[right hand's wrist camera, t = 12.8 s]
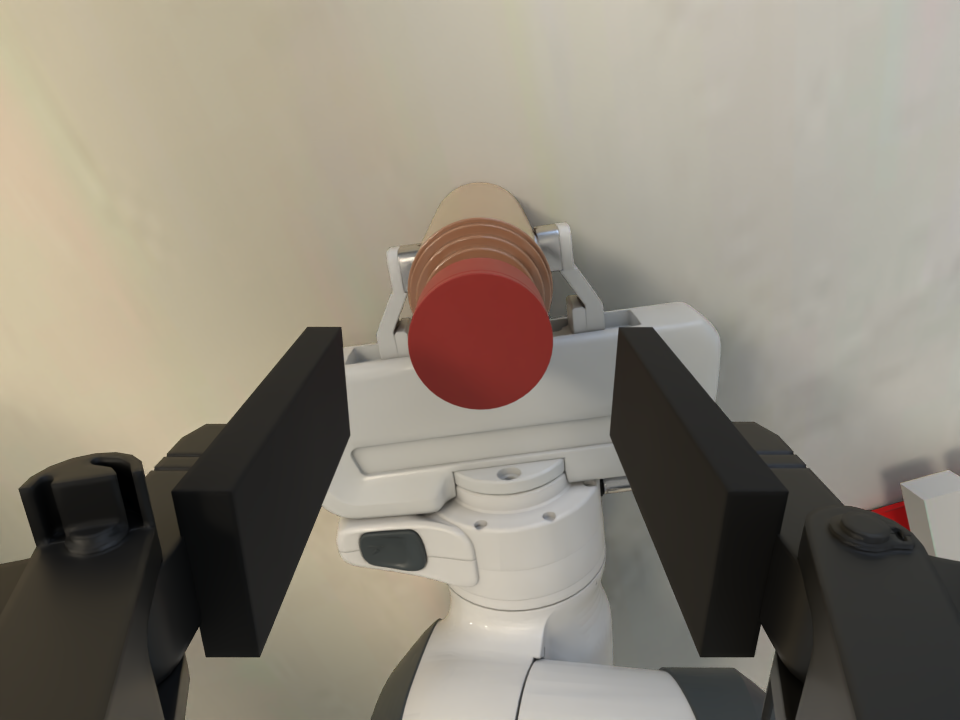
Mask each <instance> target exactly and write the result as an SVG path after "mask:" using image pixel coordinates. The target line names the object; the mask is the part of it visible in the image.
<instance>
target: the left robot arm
mask: <svg viewBox="0 0 960 720" xmlns="http://www.w3.org/2000/svg"><path fill="white" fill-rule="evenodd" d="M534 234H535V236H536V238H537V240H538V242H539V244H540V246H541V248H542V250H543V252H544V255H545V257H546V259H547V261H548V263H549V266H550V270H551V271H560V273H561V274H562V275H563V277H564V278H565V279H566V281H567V282H568V283H569V285H570V286H571V287H572V289H573V290H574V291H575V293H576V294H577V295H568V296H567V297H566V305H567V316H568V317H561V318H554V319H549V320H550V323H551V326H552V332H553V350H552V356H551V359H550V363H549V365H548V368H547V370H546V372H545V374H544V375H543V377H542V379H541V380H540V381H539V382H538V384H537V385H536V386H535V387H534V388H533V389H532V390H531V391H530V392H529V393H527V394H526V395H525V396H523V397H522V398H520V399H518V400H517V401H515V402H513V403H510V404H508V405H506V406H502V407H499V408H494V409H485V410H476V409H467V408H462V407H459V406H456V405H453V404H450V403H448V402H446V401H444V400H443V399H441V398H439V397H438V396H436V395H435V394H434V393H432V392H431V391H430V390H429V389H428V388H427V387H426V386H425V385H424V384H423V382H422V381H421V380H420V378H419V377H418V375H417V373H416V372H415V370H414V368H413V365H412V363H411V360H410V355H409V350H408V332H409V327H410V323H411V320H412V319H410V318H402V319H401V320H400V321H399V317H400V314H401V311H402V309H403V306H404V303H405V300H406V298H407V295H408V277H409V272H410V268H411V265H412V262H413V260H414V258H415V256H416V254H417V252H418V250H419V247H420V245H421V243H419V244H411V245H403V246H396V247H390V248H389V249H388V251H387V252H386V254H387V266H388V271H389V276H390V281H391V286H392V292H391V294H390V297H389V300H388V303H387V306H386V308H385V311H384V314H383V317H382V320H381V322H380V325H379V328H378V331H377V334H376V337H377V342H378V343H371V344H364V345H356V346H349V347H343V353H344V364H345V376H346V388H347V400H348V411H349V423H350V438H349V440H348V443H347V445H346V448H345V450H344V453H343V455H342V457H341V460H340V462H339V465H338V467H337V470H336V472H335V475H334V477H333V479H332V482H331V484H330V487H329V489H328V492H327V494H326V497H325V499H324V501H323V504H322V507H324V508H325V509H326V510H327V511H329V512H331V513H333V514H335V515H337V516H340V518H339V523H338V530H337V537H336V541H337V547H338V551H339V554H340V556H341V558H342V559H343V560H344V561H345V562H347V563H348V564H351V565H354V566H358V567H364V568H371V569H378V570H385V571H392V572H398V573H404V574H410V575H415V576H420V577H424V578H428V579H433V580H436V581H440V582H443V583H446V584H447V586H448V588H449V591H450V596H451V604H450V609H449V613H448V615H447V617H446V618H445V619H443V620H442V619H438V620H437V621H435V622H434V623H433V624H432V625H431V626H430V627H429V628H428V629H427V630H426V631H425V632H424V633H423V634H422V636H421V637H420V638H419V639H418V640H417V642H416V643H415V644H414V645H413V646H412V648H411V649H410V650H409V652H408V653H407V654H406V655H405V657H404V658H403V659H402V660H401V661H400V663H399V664H398V665H397V667H396V668H395V669H394V671H393V672H392V674H391V675H390V677H389V679H388V680H387V682H386V684H385V686H384V688H383V690H382V692H381V694H380V696H379V699H378V701H377V704H376V706H375V709H374V712H373V715H372V717H371V720H761V715H762V709H763V704H764V699H765V695H766V693H765V692H764V691H763V690H761V689H760V688H759V687H758V686H757V685H756V684H754V683H753V682H752V681H751V680H749V679H748V678H747V677H745V676H744V675H743V674H741V673H740V672H739V671H738V670H736V669H735V668H665V667H662V668H660V669H659V670H652V669H641V668H631V667H621V666H613V631H612V617H611V609H610V604H609V601H608V598H607V595H606V592H605V590H604V588H603V586H602V584H601V578H602V575H603V571H604V567H605V560H606V546H605V534H604V523H603V511H602V501H601V496H603V494H610V493H618V492H626V491H632V489H631V487H630V484H629V482H628V479H627V477H626V475H625V472H624V470H623V467H622V465H621V462H620V460H619V457H618V455H617V453H616V450H615V448H614V445H613V443H612V440H611V438H610V423H611V411H612V400H613V388H614V376H615V364H616V353H617V341H618V329H619V327H653V328H654V329H655V331H656V332H657V333H658V334H659V335H660V337H661V338H662V339H663V340H664V341H665V343H666V344H667V345H668V346H669V347H670V349H671V350H672V351H673V352H674V353H675V355H676V356H677V357H678V358H679V359H680V361H681V362H682V363H683V364H684V366H685V367H686V368H687V369H688V370H689V372H690V373H691V374H692V375H693V376H694V378H695V379H696V380H697V381H698V382H699V384H700V385H701V386H702V387H703V388H704V390H705V391H706V392H707V393H708V394H709V396H710V397H711V398H712V399H713V400H714V402H715V403H716V396H717V389H718V381H719V370H720V356H721V341H720V336H719V334H718V332H717V330H716V329H715V327H714V326H713V325H712V324H711V323H710V322H709V321H708V320H707V318H706V317H704V316H703V315H702V314H701V313H700V312H698V311H697V310H696V309H694V308H693V307H691V306H690V305H689V304H687V303H685V302H671V303H664V304H656V305H649V306H642V307H634V308H627V309H620V310H612V311H605V312H604V308H603V303H602V301H601V300H600V298H599V297H598V295H597V294H596V292H595V291H594V289H593V288H592V287H591V285H590V284H589V283H588V281H587V280H586V278H585V277H584V276H583V274H582V273H581V272H580V270H579V269H578V268H577V266H576V265H575V264H574V259H573V248H572V237H571V231H570V226H569V225H568V224H567V222H562V223H556V224H549V225H542V226H536V227H534ZM770 720H776V719H775V711H774V708H773V710H772V714H771V718H770Z"/></svg>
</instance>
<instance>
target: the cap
mask: <svg viewBox="0 0 960 720" xmlns="http://www.w3.org/2000/svg"><path fill="white" fill-rule="evenodd" d="M408 350H409V355H410V360H411V363H412V365H413V368H414V370H415V372H416V373H417V375H418V377H419V378H420V380H421V381H422V382H423V384H424V385H425V386H426V387H427V388H428V389H429V390H430V391H431V392H432V393H434V394H435V395H436V396H438V397H439V398H441V399H443V400H444V401H446V402H448V403H450V404H453V405H456V406H459V407H462V408H467V409H476V410H485V409H494V408H499V407H502V406H506V405H508V404H510V403H513V402H515V401H517V400H518V399H520V398H522V397H523V396H525V395H526V394H527V393H529V392H530V391H531V390H532V389H533V388H534V387H535V386H536V385H537V384H538V382H539V381H540V380H541V379H542V377H543V375H544V374H545V372H546V370H547V368H548V365H549V363H550V359H551V356H552V350H553V332H552V326H551V323H550V320H549V316H548V314H547V311H546V308H545V305H544V302H543V299H542V297H541V295H540V293H539V291H538V289H537V288H536V286H535V284H534V283H533V282H532V281H531V280H530V279H529V277H527V276H526V275H525V274H524V273H523V272H522V271H520V270H519V269H517V268H516V267H514V266H512V265H510V264H508V263H506V262H503V261H500V260H496V259H491V258H470V259H464V260H461V261H458V262H455V263H453V264H451V265H449V266H447V267H445V268H444V269H442V270H441V271H439V272H438V273H437V274H436V275H435V276H433V277H432V279H431V280H430V281H429V282H428V283H427V285H426V286H425V287H424V289H423V291H422V293H421V295H420V297H419V299H418V302H417V305H416V308H415V311H414V314H413V317H412V320H411V323H410V327H409V332H408Z"/></svg>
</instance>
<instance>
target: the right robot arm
mask: <svg viewBox="0 0 960 720" xmlns="http://www.w3.org/2000/svg"><path fill="white" fill-rule="evenodd" d="M349 438H350V423H349V411H348V400H347V388H346V376H345V364H344V353H343V341H342V329H341V327H307V328H306V329H305V331H304V332H303V333H302V334H301V335H300V337H299V338H298V339H297V340H296V341H295V343H294V344H293V345H292V346H291V347H290V349H289V350H288V351H287V352H286V353H285V355H284V356H283V357H282V358H281V359H280V361H279V362H278V363H277V364H276V366H275V367H274V368H273V369H272V370H271V372H270V373H269V374H268V375H267V376H266V378H265V379H264V380H263V381H262V382H261V384H260V385H259V386H258V387H257V388H256V390H255V391H254V392H253V393H252V394H251V396H250V397H249V398H248V399H247V400H246V402H245V403H244V404H243V405H242V406H241V408H240V409H239V410H238V411H237V413H236V414H235V415H234V416H233V417H232V419H231V420H230V421H229V422H228V423H227V424H205V425H204V426H202V427H200V428H198V429H197V430H195V431H193V432H191V433H190V434H188V435H186V436H184V437H182V438H181V439H180V440H179V441H178V443H177V444H176V445H175V446H174V447H173V448H172V449H171V450H170V451H169V452H168V453H167V457H164V458H163V459H162V460H161V461H160V462H159V463H158V464H157V465H156V466H155V467H154V468H155V469H154V471H150V472H149V474H148V475H147V476H146V477H145V474H144V470H143V465H142V461H140V460H139V459H137V458H136V457H134V456H133V455H129V454H123V453H117V452H112V453H95V454H90V455H86V456H81V457H76V458H72V459H69V460H66V461H64V462H61V463H58V464H55V465H53V466H50V467H48V468H46V469H44V470H43V471H41V472H39V473H37V474H35V475H34V476H32V477H30V478H29V479H28V480H27V481H26V482H25V483H24V484H23V485H22V486H21V487H20V488H19V492H20V496H21V499H22V502H23V505H24V508H25V511H26V515H27V518H28V521H29V524H30V527H31V531H32V534H33V537H34V540H35V543H36V546H37V547H36V549H35V550H34V552H33V554H32V556H31V558H29V559H25V560H20V561H15V562H9V563H4V564H0V720H185V713H186V705H187V697H188V690H189V682H190V676H189V670H188V664H187V660H186V655H185V651H186V649H187V648H188V646H189V644H190V642H191V640H192V639H193V637H194V635H195V633H196V631H197V630H198V628H199V627H200V631H201V636H202V641H203V646H204V650H205V655H206V657H260V655H261V653H262V651H263V648H264V646H265V643H266V641H267V638H268V636H269V633H270V631H271V629H272V626H273V624H274V621H275V619H276V616H277V614H278V611H279V609H280V607H281V604H282V602H283V599H284V597H285V594H286V592H287V589H288V587H289V585H290V582H291V580H292V577H293V575H294V572H295V570H296V567H297V565H298V563H299V560H300V558H301V555H302V553H303V550H304V548H305V545H306V543H307V541H308V538H309V536H310V533H311V531H312V528H313V526H314V523H315V521H316V519H317V516H318V514H319V511H320V509H321V506H322V504H323V501H324V499H325V497H326V494H327V492H328V489H329V487H330V484H331V482H332V479H333V477H334V475H335V472H336V470H337V467H338V465H339V462H340V460H341V457H342V455H343V453H344V450H345V448H346V445H347V443H348V440H349ZM610 438H611V440H612V443H613V445H614V448H615V450H616V453H617V455H618V457H619V460H620V462H621V465H622V467H623V470H624V472H625V475H626V477H627V479H628V482H629V484H630V487H631V489H632V492H633V494H634V497H635V499H636V501H637V504H638V506H639V509H640V511H641V514H642V516H643V519H644V521H645V523H646V526H647V528H648V531H649V533H650V536H651V538H652V541H653V543H654V545H655V548H656V550H657V553H658V555H659V558H660V560H661V563H662V565H663V567H664V570H665V572H666V575H667V577H668V580H669V582H670V585H671V587H672V589H673V592H674V594H675V597H676V599H677V602H678V604H679V607H680V609H681V611H682V614H683V616H684V619H685V621H686V624H687V626H688V629H689V631H690V633H691V636H692V638H693V641H694V643H695V646H696V648H697V651H698V653H699V655H700V657H754V655H755V650H756V646H757V641H758V636H759V631H760V627H761V625H762V626H763V628H764V630H765V632H766V634H767V635H768V637H769V639H770V641H771V643H772V644H773V646H774V648H775V650H776V651H775V655H774V660H773V664H772V668H771V673H770V677H769V682H768V686H767V691H766V695H765V699H764V704H763V709H762V715H761V720H770V718H771V714H772V710H773V708H774V711H775V719H776V720H960V561H955V560H950V559H945V558H940V557H935V556H931V555H928V553H927V551H926V549H925V547H924V546H923V544H922V543H921V542H920V541H919V540H918V539H917V537H916V536H915V535H914V534H913V533H912V532H911V531H909V530H908V529H906V528H905V527H903V526H902V525H900V524H899V523H897V522H896V521H894V520H891V519H889V518H887V517H884V516H882V515H880V514H877V513H875V512H872V511H868V510H864V509H860V508H856V507H852V506H844V505H843V504H842V503H841V501H840V500H839V499H838V498H837V497H836V496H835V495H834V494H833V493H832V492H831V491H830V490H829V489H828V488H827V487H826V486H825V484H824V483H823V482H822V481H821V480H820V479H819V478H818V477H817V476H816V475H815V474H814V473H813V472H812V471H811V470H810V469H809V468H806V464H805V463H804V462H803V461H802V460H801V459H800V458H799V457H798V456H797V455H794V454H793V451H792V449H791V448H790V447H789V446H788V445H787V444H786V443H785V442H784V441H783V440H782V439H781V438H780V437H779V436H778V435H776V434H775V433H773V432H771V431H769V430H768V429H766V428H764V427H762V426H760V425H759V424H757V423H755V422H731V421H730V420H729V419H728V417H727V416H726V415H725V414H724V413H723V411H722V410H721V409H720V408H719V406H718V405H717V404H716V403H715V402H714V400H713V399H712V398H711V397H710V396H709V394H708V393H707V392H706V391H705V390H704V388H703V387H702V386H701V385H700V384H699V382H698V381H697V380H696V379H695V378H694V376H693V375H692V374H691V373H690V372H689V370H688V369H687V368H686V367H685V366H684V364H683V363H682V362H681V361H680V359H679V358H678V357H677V356H676V355H675V353H674V352H673V351H672V350H671V349H670V347H669V346H668V345H667V344H666V343H665V341H664V340H663V339H662V338H661V337H660V335H659V334H658V333H657V332H656V331H655V329H654V328H653V327H619V329H618V341H617V353H616V364H615V376H614V388H613V400H612V411H611V423H610Z"/></svg>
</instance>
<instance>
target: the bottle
mask: <svg viewBox="0 0 960 720" xmlns="http://www.w3.org/2000/svg"><path fill="white" fill-rule="evenodd" d="M470 258H491V259H496V260H500V261H503V262H506V263H508V264H510V265H512V266H514V267H516V268H517V269H519V270H520V271H522V272H523V273H524V274H525V275H526V276H527V277H529V279H530V280H531V281H532V282H533V283H534V284H535V286H536V288H537V289H538V291H539V293H540V295H541V297H542V299H543V302H544V305H545V308H546V311H547V314H548V313H549V310H550V306H551V303H552V296H553V280H552V273H551V270H550V266H549V263H548V261H547V259H546V257H545V255H544V252H543V250H542V248H541V246H540V244H539V242H538V240H537V238H536V236H535V234H534V232H533V229H532V227H531V225H530V223H529V221H528V219H527V217H526V215H525V213H524V211H523V209H522V207H521V205H520V204H519V202H518V201H517V200H516V198H515V197H514V196H513V195H512V194H511V193H509V192H508V191H506V190H505V189H503V188H501V187H499V186H497V185H494V184H490V183H483V182H478V183H470V184H466V185H463V186H461V187H459V188H457V189H455V190H454V191H452V192H451V193H450V194H449V195H447V196H446V197H445V199H444V200H443V201H442V202H441V204H440V205H439V207H438V209H437V211H436V213H435V215H434V217H433V220H432V222H431V224H430V226H429V228H428V230H427V232H426V235H425V237H424V239H423V241H422V243H421V245H420V247H419V250H418V252H417V254H416V256H415V258H414V260H413V262H412V265H411V268H410V272H409V277H408V300H409V304H410V308H411V311H412V314H414V311H415V308H416V305H417V302H418V299H419V297H420V295H421V293H422V291H423V289H424V287H425V286H426V285H427V283H428V282H429V281H430V280H431V279H432V277H433V276H435V275H436V274H437V273H438V272H439V271H441V270H442V269H444V268H445V267H447V266H449V265H451V264H453V263H455V262H458V261H461V260H464V259H470Z"/></svg>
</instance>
